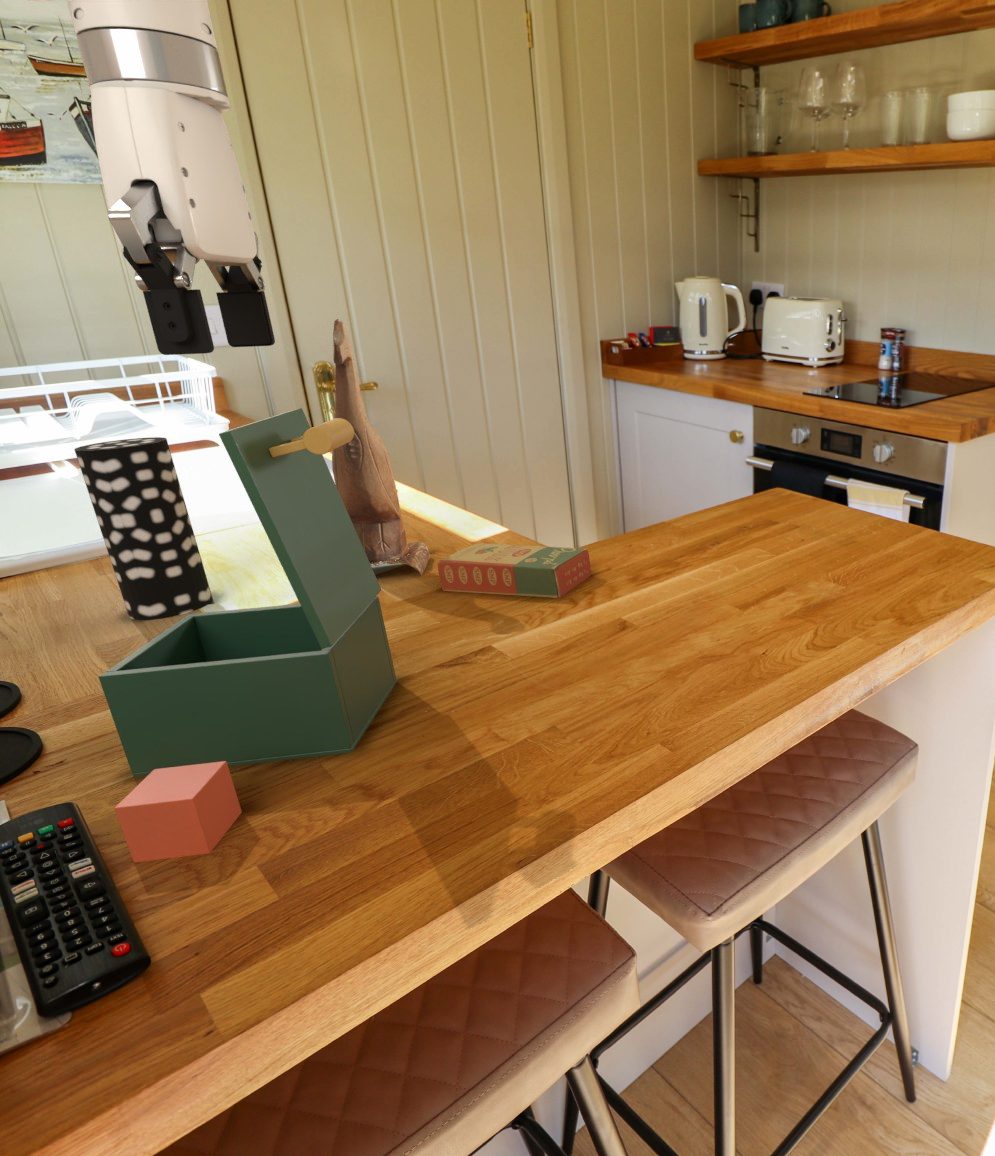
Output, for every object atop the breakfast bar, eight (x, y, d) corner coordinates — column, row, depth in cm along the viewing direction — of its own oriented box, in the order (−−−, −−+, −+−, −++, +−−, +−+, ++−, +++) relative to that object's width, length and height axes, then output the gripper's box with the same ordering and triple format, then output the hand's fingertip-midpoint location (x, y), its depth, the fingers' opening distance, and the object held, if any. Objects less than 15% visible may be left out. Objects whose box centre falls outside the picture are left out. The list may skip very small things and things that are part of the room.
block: (212, 859, 52) (192, 798, 51) (135, 868, 52) (113, 808, 50) (243, 817, 57) (226, 760, 55) (173, 826, 56) (154, 768, 55)
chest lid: (217, 433, 55) (296, 413, 55) (292, 410, 67) (357, 393, 67) (321, 649, 60) (392, 629, 61) (373, 592, 72) (432, 576, 73)
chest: (134, 782, 62) (97, 676, 59) (215, 705, 73) (188, 613, 70) (353, 757, 64) (328, 653, 61) (398, 685, 75) (378, 596, 72)
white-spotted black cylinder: (118, 615, 97) (63, 447, 91) (196, 594, 104) (149, 435, 97) (146, 628, 93) (90, 452, 86) (226, 605, 99) (179, 439, 93)
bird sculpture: (329, 592, 102) (265, 322, 91) (343, 566, 112) (287, 321, 102) (425, 579, 105) (374, 317, 94) (430, 554, 115) (384, 316, 105)
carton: (482, 572, 107) (477, 540, 105) (593, 578, 102) (589, 545, 101) (441, 593, 99) (435, 560, 98) (559, 601, 95) (555, 566, 93)
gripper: (167, 108, 61) (223, 346, 67) (-3, 38, 45) (90, 360, 51) (274, 108, 62) (321, 342, 68) (145, 40, 46) (221, 355, 52)
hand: (222, 349), depth 59 cm, fingers open, 9 cm apart
